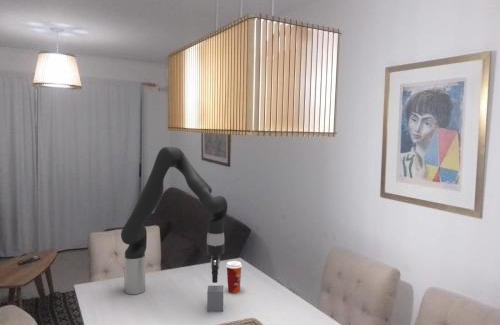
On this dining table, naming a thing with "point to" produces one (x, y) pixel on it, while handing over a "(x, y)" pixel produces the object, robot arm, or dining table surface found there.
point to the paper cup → (234, 276)
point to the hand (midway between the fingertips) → (215, 278)
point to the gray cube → (215, 298)
